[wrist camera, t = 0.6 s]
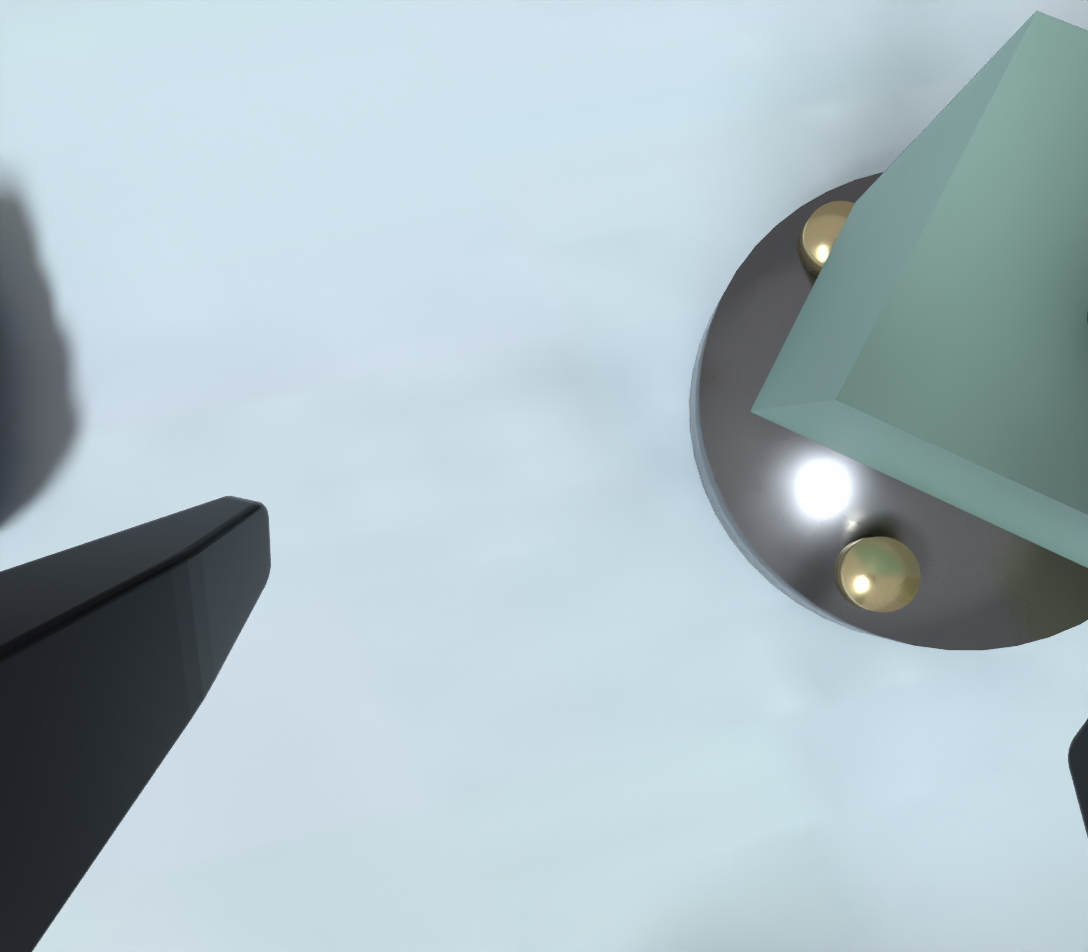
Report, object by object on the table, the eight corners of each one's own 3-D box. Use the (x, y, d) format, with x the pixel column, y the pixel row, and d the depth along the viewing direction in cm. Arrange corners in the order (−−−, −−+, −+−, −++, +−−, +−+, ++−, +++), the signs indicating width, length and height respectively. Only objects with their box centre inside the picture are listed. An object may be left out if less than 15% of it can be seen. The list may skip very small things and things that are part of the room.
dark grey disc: (1046, 726, 22) (1115, 749, 19) (614, 516, 23) (619, 509, 20) (1218, 310, 23) (1307, 274, 20) (799, 132, 24) (828, 76, 21)
